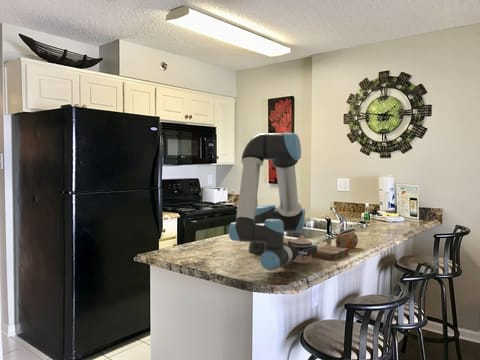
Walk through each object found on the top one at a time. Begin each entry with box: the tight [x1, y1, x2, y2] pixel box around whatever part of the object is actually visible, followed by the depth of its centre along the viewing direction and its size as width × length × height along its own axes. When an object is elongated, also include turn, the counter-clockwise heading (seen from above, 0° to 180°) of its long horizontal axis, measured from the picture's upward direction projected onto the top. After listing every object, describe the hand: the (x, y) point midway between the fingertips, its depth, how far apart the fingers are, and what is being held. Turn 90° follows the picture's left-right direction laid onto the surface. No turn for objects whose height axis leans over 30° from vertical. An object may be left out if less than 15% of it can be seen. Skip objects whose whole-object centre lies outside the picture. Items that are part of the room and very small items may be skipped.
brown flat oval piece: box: [335, 232, 359, 251], centre depth 203 cm, size 15×3×8 cm, turn 126°
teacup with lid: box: [291, 235, 313, 264], centre depth 178 cm, size 12×9×12 cm
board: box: [311, 244, 349, 261], centre depth 188 cm, size 16×12×3 cm
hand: (307, 244), depth 182 cm, fingers closed on teacup with lid, 9 cm apart
